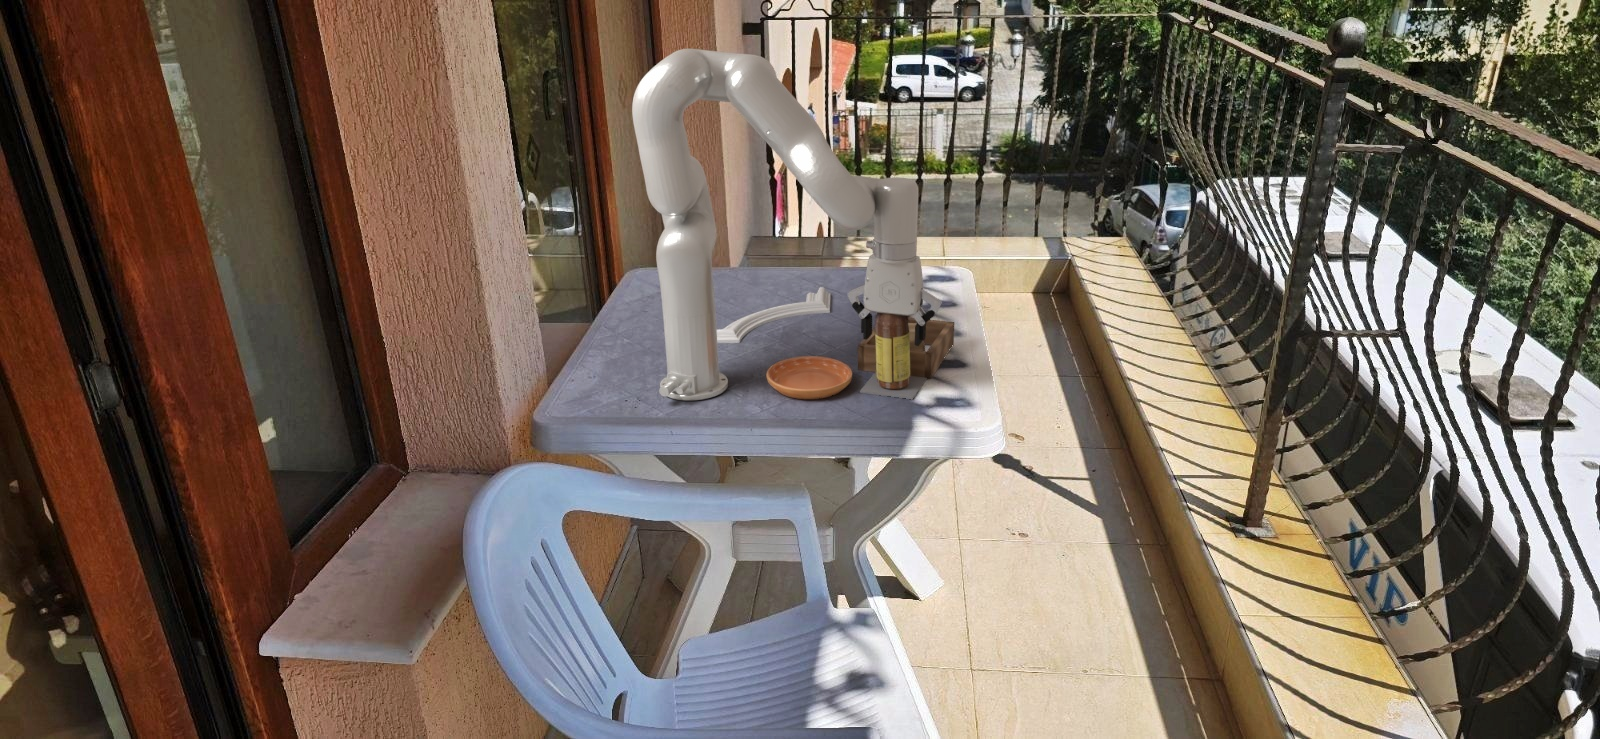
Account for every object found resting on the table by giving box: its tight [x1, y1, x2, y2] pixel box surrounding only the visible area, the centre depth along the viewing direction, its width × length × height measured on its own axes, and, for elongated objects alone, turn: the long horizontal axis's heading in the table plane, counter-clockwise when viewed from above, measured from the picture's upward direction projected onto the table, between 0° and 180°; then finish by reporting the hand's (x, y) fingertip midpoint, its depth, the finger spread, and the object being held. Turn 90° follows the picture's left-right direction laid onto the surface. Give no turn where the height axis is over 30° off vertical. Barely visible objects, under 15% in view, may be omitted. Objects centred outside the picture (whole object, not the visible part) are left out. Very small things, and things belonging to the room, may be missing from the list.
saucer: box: [766, 355, 853, 400], centre depth 192 cm, size 16×16×3 cm
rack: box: [857, 316, 955, 380], centre depth 204 cm, size 18×14×5 cm
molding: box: [717, 286, 831, 344], centre depth 226 cm, size 42×12×3 cm, turn 132°
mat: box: [859, 372, 927, 401], centre depth 192 cm, size 10×10×1 cm
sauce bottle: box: [874, 312, 910, 390], centre depth 188 cm, size 6×6×20 cm
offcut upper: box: [908, 323, 924, 351], centre depth 199 cm, size 4×8×4 cm, turn 83°
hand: (893, 340), depth 188 cm, fingers open, 9 cm apart
